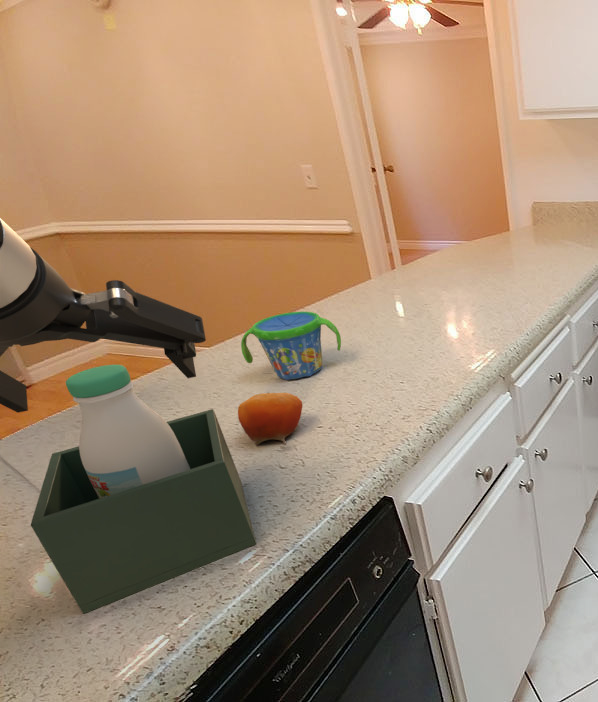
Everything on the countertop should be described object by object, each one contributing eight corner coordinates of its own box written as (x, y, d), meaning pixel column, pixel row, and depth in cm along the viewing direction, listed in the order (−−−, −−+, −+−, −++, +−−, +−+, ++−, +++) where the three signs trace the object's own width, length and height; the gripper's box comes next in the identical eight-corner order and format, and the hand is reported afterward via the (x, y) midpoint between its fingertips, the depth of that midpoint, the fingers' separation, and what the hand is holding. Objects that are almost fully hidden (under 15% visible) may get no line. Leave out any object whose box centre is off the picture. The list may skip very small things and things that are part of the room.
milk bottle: (191, 501, 68) (125, 351, 60) (223, 522, 64) (159, 365, 56) (113, 541, 62) (28, 380, 54) (144, 567, 58) (58, 398, 50)
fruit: (230, 452, 77) (225, 395, 77) (254, 451, 84) (249, 398, 85) (295, 441, 78) (289, 385, 79) (313, 441, 86) (307, 390, 87)
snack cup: (352, 355, 109) (339, 306, 105) (340, 378, 100) (326, 325, 96) (264, 366, 106) (248, 315, 102) (243, 390, 97) (224, 336, 93)
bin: (94, 533, 65) (51, 453, 60) (241, 482, 73) (213, 408, 68) (83, 614, 54) (30, 524, 50) (256, 544, 62) (224, 461, 58)
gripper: (178, 211, 46) (245, 325, 64) (-306, 256, 35) (-61, 378, 53) (192, 289, 44) (257, 384, 62) (-319, 363, 33) (-59, 452, 51)
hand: (110, 382), depth 58 cm, fingers open, 13 cm apart
